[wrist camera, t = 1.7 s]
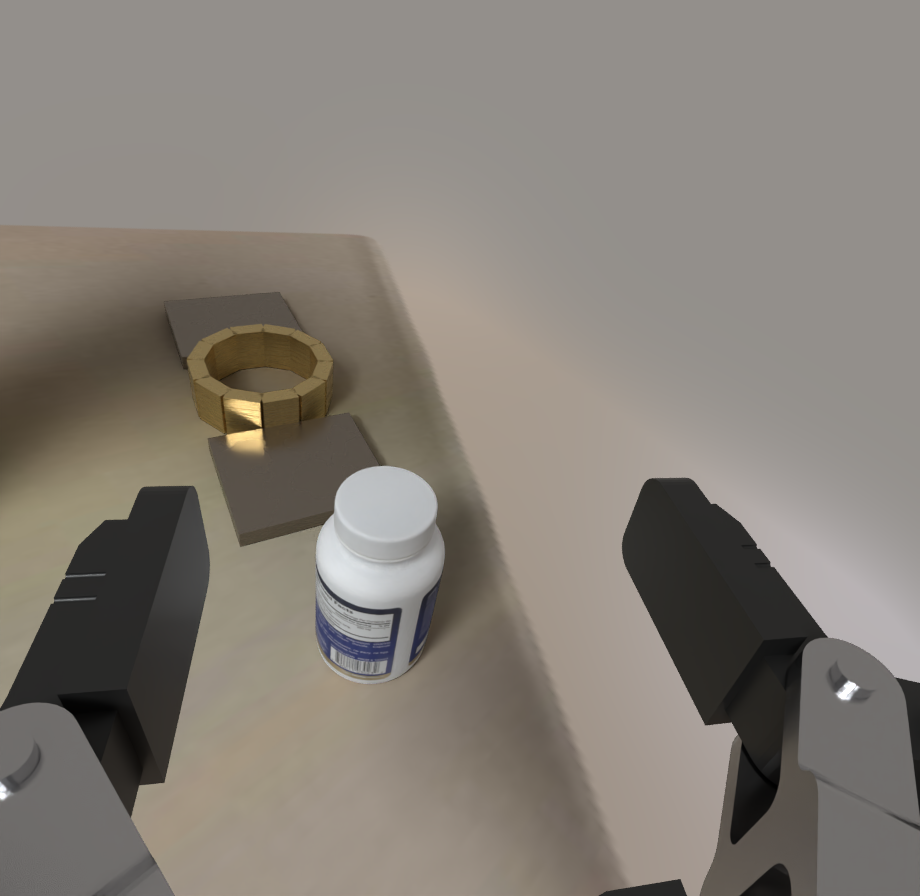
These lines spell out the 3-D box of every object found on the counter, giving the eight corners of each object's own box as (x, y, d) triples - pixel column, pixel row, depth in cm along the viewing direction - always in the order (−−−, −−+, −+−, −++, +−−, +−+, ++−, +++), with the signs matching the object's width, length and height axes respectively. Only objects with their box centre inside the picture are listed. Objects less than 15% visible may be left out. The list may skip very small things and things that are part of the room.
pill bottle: (390, 573, 32) (410, 438, 26) (446, 652, 29) (484, 522, 23) (296, 617, 29) (292, 477, 23) (347, 709, 26) (360, 579, 20)
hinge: (240, 546, 32) (235, 508, 30) (165, 312, 47) (159, 277, 45) (394, 505, 36) (399, 469, 34) (279, 302, 51) (278, 270, 49)
